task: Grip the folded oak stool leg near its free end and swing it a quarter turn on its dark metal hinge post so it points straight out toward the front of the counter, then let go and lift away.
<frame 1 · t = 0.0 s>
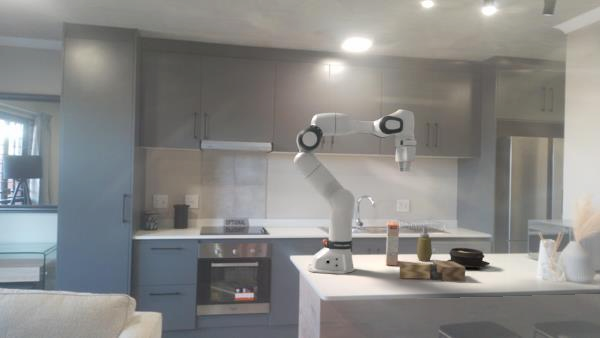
hand: (404, 171, 200), 48 cm above the countertop, tool pointing down, fingers open, 8 cm apart
cracker box: (391, 263, 215), on the countertop
stool seat: (448, 277, 187), on the countertop
casserole: (466, 267, 211), on the countertop
stool leg: (418, 270, 183), point 4 cm above the countertop, hinge at 0.0°
squeeze bottle: (424, 260, 224), on the countertop
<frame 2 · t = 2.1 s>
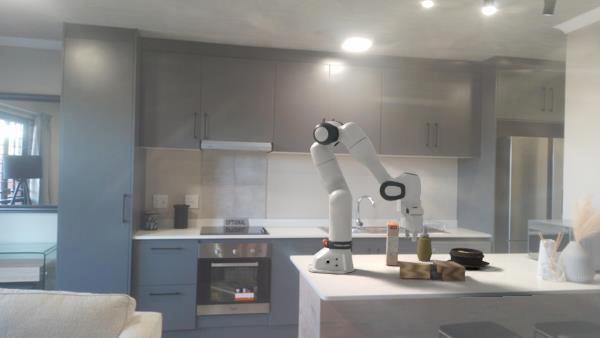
hand: (410, 240, 183), 17 cm above the countertop, tool pointing down, fingers open, 8 cm apart
nothing on the countertop moved.
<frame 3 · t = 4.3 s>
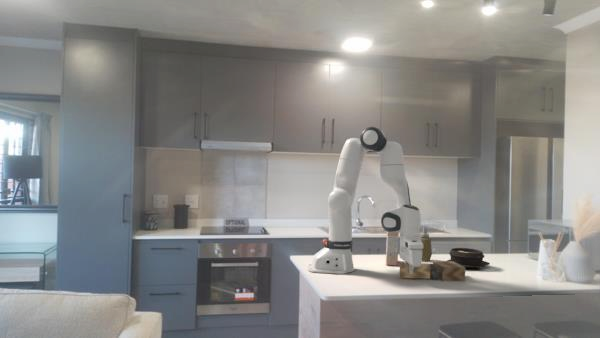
hand: (409, 272, 183), 3 cm above the countertop, tool pointing down, fingers closed on stool leg, 2 cm apart
stool leg: (418, 270, 183), point 4 cm above the countertop, hinge at 0.0°, touching gripper
everything else where it was.
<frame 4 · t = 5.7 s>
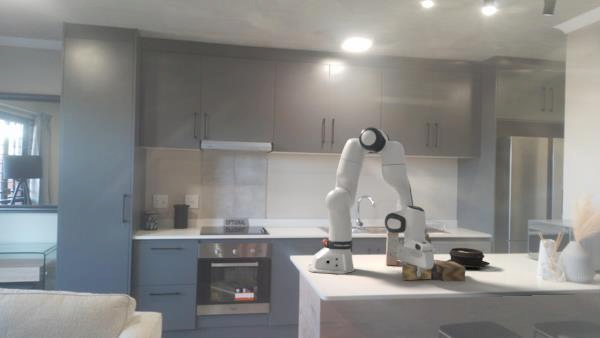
hand: (413, 274, 180), 3 cm above the countertop, tool pointing down, fingers open, 4 cm apart
stool leg: (420, 271, 182), point 3 cm above the countertop, hinge at 12.8°, touching gripper
everything else where it was.
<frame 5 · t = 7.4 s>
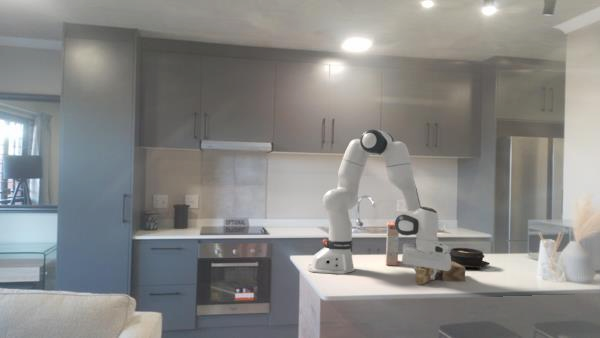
hand: (425, 277, 175), 2 cm above the countertop, tool pointing down, fingers open, 5 cm apart
stool leg: (427, 273, 179), point 4 cm above the countertop, hinge at 45.6°, touching gripper
everything else where it was.
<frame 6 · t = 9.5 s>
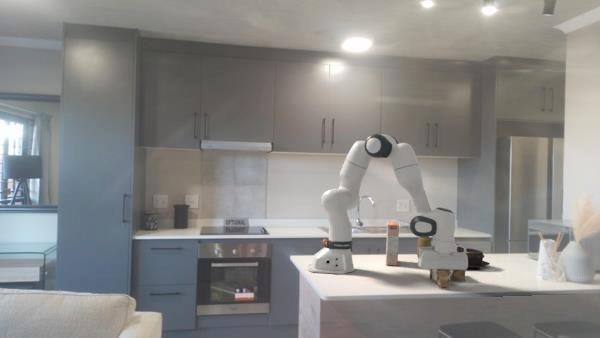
hand: (442, 279, 173), 2 cm above the countertop, tool pointing down, fingers open, 3 cm apart
stool leg: (438, 274, 177), point 4 cm above the countertop, hinge at 85.7°, touching gripper
everything else where it was.
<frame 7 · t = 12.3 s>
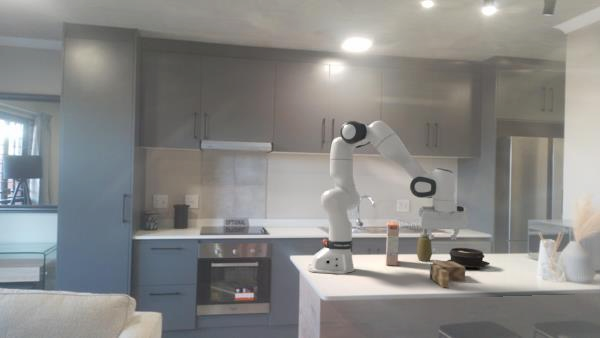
hand: (442, 239, 174), 19 cm above the countertop, tool pointing down, fingers open, 8 cm apart
stool leg: (438, 274, 177), point 4 cm above the countertop, hinge at 87.3°
everything else where it was.
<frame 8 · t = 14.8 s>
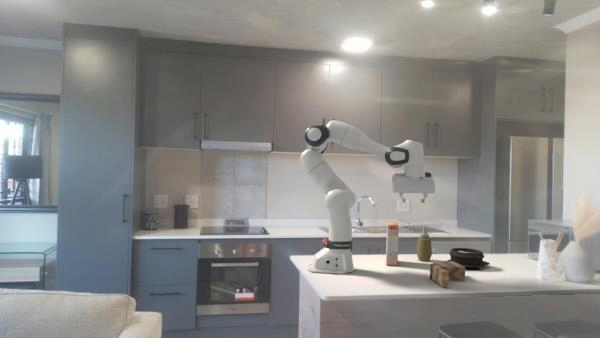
hand: (413, 202, 196), 33 cm above the countertop, tool pointing down, fingers open, 8 cm apart
nothing on the countertop moved.
at the end: stool leg at +87° (first picture: +0°); the gripper is holding nothing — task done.
